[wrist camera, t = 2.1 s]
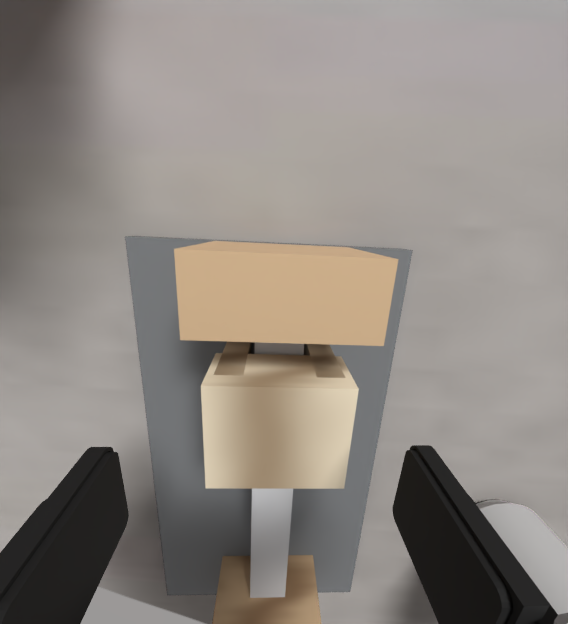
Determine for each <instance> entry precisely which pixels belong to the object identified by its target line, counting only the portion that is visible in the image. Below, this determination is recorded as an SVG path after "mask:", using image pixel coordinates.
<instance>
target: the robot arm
mask: <svg viewBox="0 0 568 624" xmlns="http://www.w3.org/2000/svg"><path fill="white" fill-rule="evenodd" d="M393 516H394V519H395V522H396V524H397V527H398V529H399V531H400V534H401V536H402V538H403V541H404V543H405V545H406V548H407V550H408V552H409V555H410V557H411V559H412V562H413V564H414V566H415V569H416V571H417V573H418V576H419V578H420V580H421V583H422V585H423V587H424V590H425V592H426V594H427V597H428V599H429V601H430V604H431V606H432V608H433V611H434V613H435V615H436V618H437V620H438V622H439V624H568V613H563V614H559V615H558V614H557V613H556V611H555V610H554V609H553V607H552V606H551V605H550V603H549V602H548V601H547V599H546V598H545V596H544V595H543V594H542V592H541V591H540V590H539V588H538V587H537V586H536V584H535V583H534V582H533V580H532V579H531V578H530V576H529V575H528V574H527V572H526V571H525V570H524V568H523V567H522V566H521V564H520V563H519V562H518V560H517V559H516V557H515V556H514V555H513V553H512V552H511V551H510V549H509V548H508V547H507V545H506V544H505V543H504V541H503V540H502V539H501V537H500V536H499V535H498V533H497V532H496V531H495V529H494V528H493V527H492V525H491V524H490V523H489V521H488V520H487V518H486V517H485V516H484V514H483V513H482V512H481V510H480V509H479V508H478V506H477V505H476V504H475V502H474V501H473V500H472V499H471V497H470V496H469V495H468V494H467V493H466V492H465V490H464V489H463V487H462V486H461V485H460V483H459V482H458V481H457V479H456V478H455V477H454V475H453V474H452V473H451V471H450V470H449V469H448V467H447V466H446V464H445V463H444V462H443V460H442V459H441V458H440V456H439V455H438V454H437V452H436V451H435V450H434V449H433V447H431V446H411V448H410V450H407V451H406V454H405V458H404V462H403V467H402V471H401V475H400V479H399V484H398V488H397V492H396V496H395V501H394V505H393ZM127 521H128V508H127V502H126V496H125V490H124V485H123V479H122V473H121V467H120V462H119V456H118V453H117V452H114V451H113V448H111V447H90V448H89V449H87V450H86V451H85V453H84V454H83V455H82V456H81V458H80V459H79V460H78V461H77V463H76V464H75V465H74V466H73V468H72V469H71V470H70V471H69V473H68V474H67V475H66V476H65V478H64V479H63V480H62V481H61V483H60V484H59V485H58V486H57V488H56V489H55V490H54V491H53V493H52V494H51V495H50V496H49V498H48V499H46V500H45V501H43V502H42V503H41V504H40V505H39V506H38V507H37V509H36V510H35V511H34V512H33V513H32V515H31V516H30V517H29V518H28V520H27V521H26V522H25V523H24V524H23V526H22V527H21V528H20V529H19V531H18V532H17V533H16V534H15V536H14V537H13V538H12V539H11V540H10V542H9V543H8V544H7V545H6V547H5V548H4V549H3V550H2V551H1V553H0V624H80V623H81V621H82V619H83V617H84V615H85V612H86V610H87V608H88V606H89V604H90V602H91V599H92V598H93V595H94V593H95V591H96V589H97V587H98V585H99V583H100V580H101V578H102V576H103V574H104V572H105V570H106V568H107V566H108V563H109V561H110V559H111V557H112V555H113V553H114V551H115V549H116V546H117V544H118V542H119V540H120V538H121V536H122V534H123V532H124V529H125V527H126V524H127Z"/></svg>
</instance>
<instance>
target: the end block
mask: <svg viewBox="0 0 568 624" xmlns="http://www.w3.org/2000/svg"><path fill="white" fill-rule="evenodd" d="M250 571H251V556H223V557H222V563H221V570H220V576H219V583H218V589H217V596H216V602H215V609H214V615H213V622H212V624H321V617H320V609H319V601H318V592H317V584H316V576H315V568H314V560H313V555H288V564H287V577H286V590H285V597H268V598H250Z"/></svg>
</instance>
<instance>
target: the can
mask: <svg viewBox="0 0 568 624" xmlns="http://www.w3.org/2000/svg"><path fill="white" fill-rule="evenodd" d="M476 505H477V506H478V508H479V509H480V510H481V512H482V513H483V514H484V516H485V517H486V518H487V520H488V521H489V523H490V524H491V525H492V527H493V528H494V529H495V531H496V532H497V533H498V535H499V536H500V537H501V539H502V540H503V541H504V543H505V544H506V545H507V547H508V548H509V549H510V551H511V552H512V553H513V555H514V556H515V557H516V559H517V560H518V562H519V563H520V564H521V566H522V567H523V568H524V570H525V571H526V572H527V574H528V575H529V576H530V578H531V579H532V580H533V582H534V583H535V584H536V586H537V587H538V588H539V590H540V591H541V592H542V594H543V595H544V596H545V598H546V599H547V601H548V602H549V603H550V605H551V606H552V607H553V609H554V610H555V611H556V613H557V614H558V615H559V614H563V613H568V547H567V546H566V545H565V544H564V543H563V542H562V541H561V540H560V538H559V537H558V536H557V535H556V534H555V533H554V532H553V531H552V530H551V529H550V528H549V527H548V526H547V524H546V523H545V522H544V521H543V520H542V519H541V518H540V517H539V516H538V515H537V514H536V513H535V512H534V511H533V510H531V509H530V508H528V507H526V506H524V505H520V504H514V503H510V502H508V501H502V500H488V501H484V502H480V503H477V504H476Z"/></svg>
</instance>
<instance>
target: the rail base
mask: <svg viewBox="0 0 568 624" xmlns="http://www.w3.org/2000/svg"><path fill="white" fill-rule="evenodd" d="M125 240H126V249H127V257H128V266H129V274H130V283H131V291H132V299H133V308H134V316H135V325H136V333H137V342H138V350H139V359H140V367H141V376H142V384H143V393H144V401H145V409H146V418H147V426H148V435H149V443H150V452H151V460H152V469H153V477H154V486H155V494H156V503H157V511H158V519H159V528H160V536H161V545H162V553H163V562H164V570H165V579H166V587H167V595H208V594H217V589H218V583H219V576H220V570H221V563H222V557H223V556H251V571H250V598H268V597H285V590H286V577H287V564H288V555H313V560H314V568H315V576H316V584H317V592H350V590H351V584H352V579H353V573H354V568H355V562H356V557H357V551H358V546H359V541H360V535H361V530H362V524H363V519H364V513H365V508H366V502H367V497H368V491H369V486H370V480H371V475H372V469H373V464H374V458H375V453H376V448H377V442H378V437H379V431H380V426H381V420H382V415H383V409H384V404H385V398H386V393H387V387H388V382H389V376H390V371H391V365H392V360H393V354H394V349H395V344H396V338H397V333H398V327H399V322H400V316H401V311H402V305H403V300H404V294H405V289H406V283H407V278H408V272H409V267H410V261H411V256H412V251H413V250H407V249H393V248H372V247H351V246H330V245H310V244H289V243H268V242H247V241H226V240H206V239H185V238H164V237H143V236H126V237H125ZM227 342H252V343H251V354H269V355H303V354H304V344H329V345H330V347H331V349H332V351H333V353H334V355H335V356H341V357H342V359H343V361H344V362H345V364H346V366H347V368H348V370H349V372H350V374H351V375H352V377H353V379H354V381H355V383H356V385H357V387H358V389H359V391H358V398H357V405H356V412H355V419H354V425H353V432H352V439H351V446H350V452H349V459H348V466H347V473H346V479H345V486H344V489H241V488H205V466H204V445H203V424H202V402H201V384H202V382H203V380H204V378H205V376H206V373H207V371H208V369H209V367H210V365H211V363H212V360H213V358H214V356H215V354H216V353H223V350H224V348H225V345H226V343H227Z"/></svg>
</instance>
